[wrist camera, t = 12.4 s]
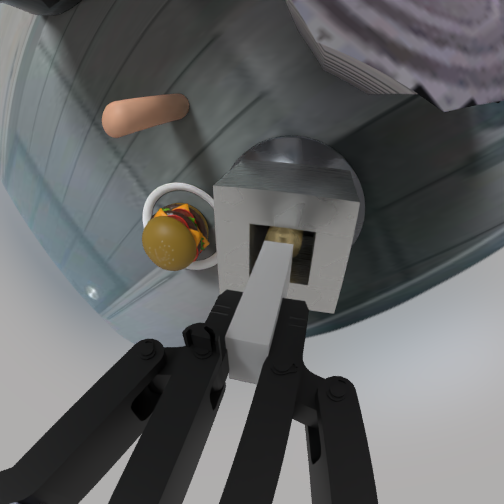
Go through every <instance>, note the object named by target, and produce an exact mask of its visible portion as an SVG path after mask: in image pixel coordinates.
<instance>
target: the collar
mask: <svg viewBox="0 0 504 504" xmlns="http://www.w3.org/2000/svg"><path fill="white" fill-rule="evenodd" d="M213 196H214V216H215V233H216V249H217V263H218V277H219V290H220V294H222V293H223V292H224V291H225V290H227V289H228V290H234V291H240V292H244V290H245V287H246V285H247V282H248V280H249V278H250V275H251V273H252V270H253V268H254V265H255V263H256V260H257V258H258V256H259V253H260V251H261V248H262V246H263V243H264V240H265V237H266V234H267V232H268V226H274V227H282V228H289V229H297V230H304V231H312V232H314V236H313V237H311V236H304V235H303V238H302V244H301V249H300V252H299V253H298V254H297V255H296V256H295V257H294V258H292V264H291V273H290V282H289V289H288V293H287V298H288V299H295V300H302V301H305V302H306V304H307V307H308V309H309V310H312V311H319V312H326V313H334V312H335V308H336V305H337V301H338V297H339V294H340V290H341V286H342V282H343V278H344V274H345V270H346V266H347V262H348V258H349V254H350V249H351V245H352V240H353V236H354V231H355V226H356V221H357V216H358V211H359V206H360V201H359V197H358V194H357V191H356V188H355V185H354V182H353V179H352V176H351V173H350V171H348V170H341V169H334V168H327V167H319V166H311V165H303V164H294V163H284V162H273V161H260V160H246V159H243V160H242V161H241V162H239V163H238V164H237V165H236V166H235V167H234V168H232V169H231V170H230V171H229V172H228V173H227V174H226V175H224V176H223V177H222V178H221V179H220V180H219V181H218V182H217V183H215V184H214V185H213Z"/></svg>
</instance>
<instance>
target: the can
mask: <svg viewBox="0 0 504 504" xmlns="http://www.w3.org/2000/svg"><path fill="white" fill-rule="evenodd" d="M285 2H286V4H287V6H288V8H289V11H290V13H291V15H292V17H293V20H294V22H295V25H296V27H297V30H298V31H299V33H300V34H301V36H302V37H303V39H304V40H305V42H306V43H307V45H308V46H309V48H310V49H311V51H312V52H313V54H314V55H315V57H316V59H317V60H318V62H319V63H320V65H321V67H322V68H323V70H324V71H327V72H329V73H330V74H332V75H334V76H336V77H338V78H340V79H342V80H344V81H346V82H348V83H349V84H351V85H353V86H355V87H356V88H358V89H360V90H362V91H363V92H365V93H367V94H419V95H420V96H422V97H423V98H425V99H426V100H428V101H429V102H430V103H432V104H433V105H435V106H436V107H437V108H439V109H440V110H442V111H443V112H446V111H451V110H455V109H460V108H465V107H470V106H475V105H480V104H485V103H491V102H496V103H499V102H500V101H503V100H504V0H285Z"/></svg>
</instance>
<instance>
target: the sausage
mask: <svg viewBox="0 0 504 504" xmlns="http://www.w3.org/2000/svg"><path fill="white" fill-rule="evenodd" d="M188 111H189V102H188V99H187V98H186V97H185V96H184V95H182V94H166V95H156V96H147V97H140V98H133V99H126V100H120V101H114V102H111V103H110V104H108V105H107V106H106V108H105V109H104V112H103V115H102V125H103V128H104V130H105V132H106V133H107V134H108V135H109V136H111V137H113V138H119V137H122V136H125V135H128V134H131V133H134V132H137V131H140V130H143V129H146V128H150V127H153V126H157V125H160V124H164V123H167V122H171V121H175V120H179V119H182V118H183V117H185V116H186V114H187V113H188Z"/></svg>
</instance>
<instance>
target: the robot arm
mask: <svg viewBox="0 0 504 504" xmlns="http://www.w3.org/2000/svg"><path fill="white" fill-rule="evenodd" d="M80 1H81V0H0V3H5V4H8V5H11V6H13V7H16V8H19V9H21V10H24V11H26V12H29V13H31V14H35V15H57V14H60V13H63V12H65V11H67V10H69V9H70V8H72V7H73V6H75V5H76V4H77V3H79V2H80ZM292 254H293V244H287V243H279V242H272V241H264V243H263V246H262V248H261V251H260V253H259V256H258V258H257V260H256V263H255V265H254V268H253V270H252V273H251V275H250V278H249V280H248V282H247V285H246V287H245V290H244V292H240V291H234V290H228V289H227V290H225V291H224V292H223V293H222V294H220V295H219V296H218V298H217V300H216V302H215V305H214V306H213V308H212V310H211V312H210V314H209V316H208V318H207V320H206V322H205V323H196V324H192V325H190V326H188V327H187V328H186V329H185V330H184V331H183V332H182V333H183V337H184V341H185V345H186V346H184V347H163V345H162V344H161V343H160V342H159V341H157V340H154V339H144V340H141V341H139V342H138V343H136V344H135V345H134V346H133V347H132V348H131V349H130V350H129V351H128V352H127V353H126V354H125V355H124V356H123V357H122V358H121V359H120V360H119V361H118V362H117V363H116V364H115V365H114V366H113V367H112V368H111V369H110V370H108V372H106V373H105V374H104V375H103V376H102V377H101V378H100V379H99V380H98V381H97V382H96V383H95V384H94V385H93V386H92V387H91V388H90V389H89V390H88V391H87V392H86V393H85V394H84V395H83V396H82V397H81V398H80V399H79V400H78V401H77V402H76V403H75V404H74V405H73V406H72V407H71V408H70V409H69V410H68V411H67V412H66V413H65V414H64V415H63V416H62V417H61V418H60V419H59V420H58V421H57V422H56V423H55V424H54V425H53V426H52V427H51V428H50V429H49V430H48V432H46V433H45V435H44V436H43V437H42V438H41V439H40V440H39V441H38V442H37V443H36V444H35V445H34V446H33V447H32V448H31V449H30V450H29V451H28V452H27V453H26V454H25V455H24V456H23V457H22V458H21V459H20V460H19V461H18V462H17V463H16V465H14V466H13V467H12V468H9V469H6V470H3V471H1V472H0V504H78V503H79V502H80V501H81V500H82V499H83V498H84V497H85V496H86V495H87V494H88V492H89V491H90V490H91V489H92V488H93V487H94V486H95V485H96V484H97V483H98V482H99V481H100V480H101V478H102V477H103V476H104V475H105V474H106V473H107V472H108V471H109V470H110V468H112V466H113V465H114V464H115V463H116V462H117V461H118V460H119V459H120V458H121V456H122V455H123V454H124V453H125V452H126V451H127V449H129V447H130V446H131V445H132V444H133V443H134V442H135V441H136V439H137V438H138V437H139V436H140V435H141V434H142V435H141V437H140V439H139V441H138V443H137V445H136V447H135V449H134V451H133V453H132V455H131V457H130V459H129V461H128V463H127V466H126V467H125V469H124V472H123V474H122V476H121V478H120V480H119V482H118V484H117V486H116V488H115V490H114V492H113V494H112V496H111V499H110V501H109V503H108V504H182V502H183V500H184V498H185V495H186V492H187V490H188V488H189V485H190V482H191V480H192V477H193V475H194V472H195V470H196V467H197V464H198V462H199V459H200V457H201V454H202V451H203V449H204V446H205V443H206V441H207V438H208V436H209V433H210V430H211V427H212V425H213V422H214V419H215V417H216V414H217V411H218V409H219V406H220V403H221V400H222V398H223V395H224V392H225V388H226V383H225V381H226V378H227V376H228V373H229V378H230V379H235V380H239V381H244V382H249V383H254V384H257V387H256V390H255V394H254V397H253V401H252V404H251V407H250V411H249V414H248V417H247V420H246V424H245V427H244V430H243V434H242V437H241V440H240V443H239V446H238V449H237V452H236V455H235V458H234V461H233V465H232V468H231V470H230V473H229V477H228V479H227V482H226V485H225V488H224V492H223V494H222V497H221V499H220V502H219V504H272V501H273V498H274V494H275V490H276V486H277V483H278V479H279V475H280V471H281V466H282V463H283V458H284V454H285V450H286V445H287V440H288V436H289V431H290V426H291V422H292V419H294V420H296V421H298V422H300V423H303V424H305V431H306V440H307V451H308V461H309V472H310V484H311V497H312V504H378V499H377V492H376V486H375V480H374V474H373V468H372V463H371V458H370V452H369V447H368V442H367V437H366V433H365V428H364V423H363V419H362V414H361V410H360V406H359V401H358V397H357V393H356V389H355V387H354V385H353V384H352V383H351V382H350V381H349V380H348V379H346V378H343V377H341V376H332V377H328V378H326V379H324V378H322V377H320V376H317V375H315V374H313V373H312V372H310V371H309V370H308V369H307V368H306V366H305V365H304V362H303V349H304V342H305V335H306V328H307V320H308V313H309V309H308V307H307V304H306V302H305V301H302V300H295V299H288V298H287V293H288V289H289V282H290V273H291V264H292Z"/></svg>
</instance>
